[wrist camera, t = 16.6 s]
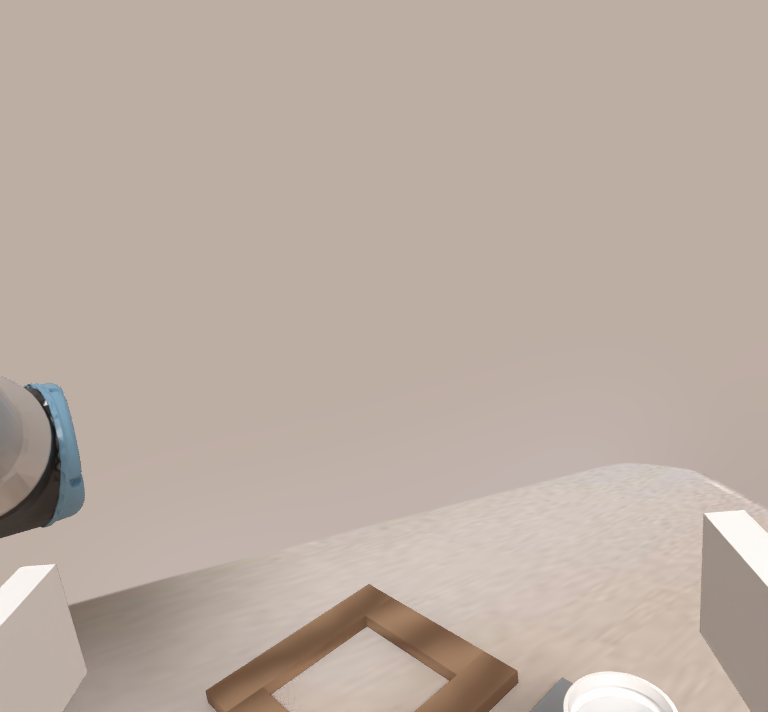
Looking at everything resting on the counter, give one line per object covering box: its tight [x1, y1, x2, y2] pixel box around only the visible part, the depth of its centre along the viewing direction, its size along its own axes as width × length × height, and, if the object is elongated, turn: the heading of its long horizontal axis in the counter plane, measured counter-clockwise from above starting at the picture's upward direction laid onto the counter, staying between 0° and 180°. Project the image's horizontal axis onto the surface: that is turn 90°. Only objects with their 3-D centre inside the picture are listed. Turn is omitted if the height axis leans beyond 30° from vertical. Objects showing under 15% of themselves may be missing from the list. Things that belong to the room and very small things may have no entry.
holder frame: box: [206, 584, 518, 712], centre depth 46 cm, size 16×16×1 cm
